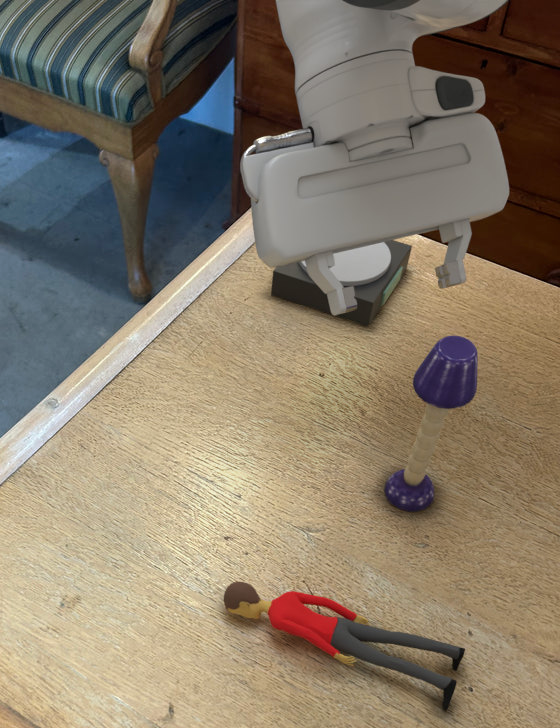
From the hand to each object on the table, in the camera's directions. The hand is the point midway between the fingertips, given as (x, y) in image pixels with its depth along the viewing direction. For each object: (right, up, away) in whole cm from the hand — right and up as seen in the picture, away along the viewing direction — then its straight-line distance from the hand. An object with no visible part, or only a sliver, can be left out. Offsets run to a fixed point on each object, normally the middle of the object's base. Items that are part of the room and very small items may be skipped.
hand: (399, 299), depth 69 cm
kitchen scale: (+1, +9, +26) cm, 28 cm away
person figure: (+3, -29, -5) cm, 29 cm away
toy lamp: (+3, -15, +8) cm, 17 cm away
